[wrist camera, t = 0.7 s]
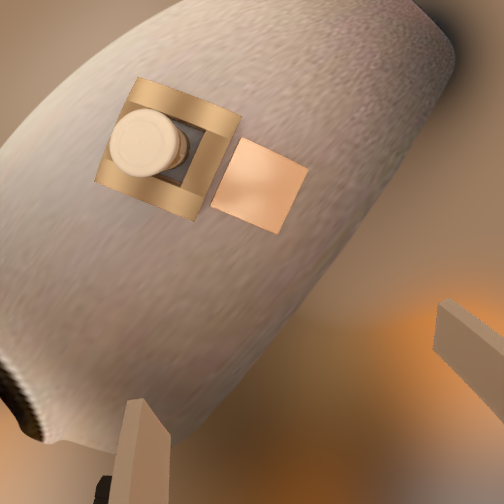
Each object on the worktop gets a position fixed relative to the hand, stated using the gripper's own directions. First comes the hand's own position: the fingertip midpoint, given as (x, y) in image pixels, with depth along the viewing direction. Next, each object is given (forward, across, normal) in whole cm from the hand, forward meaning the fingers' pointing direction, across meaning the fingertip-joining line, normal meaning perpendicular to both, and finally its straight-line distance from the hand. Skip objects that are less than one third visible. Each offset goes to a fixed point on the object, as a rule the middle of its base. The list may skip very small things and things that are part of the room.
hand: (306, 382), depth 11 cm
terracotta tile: (+24, +3, +4) cm, 24 cm away
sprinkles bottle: (+24, -5, +11) cm, 27 cm away
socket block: (+24, -5, +11) cm, 27 cm away
